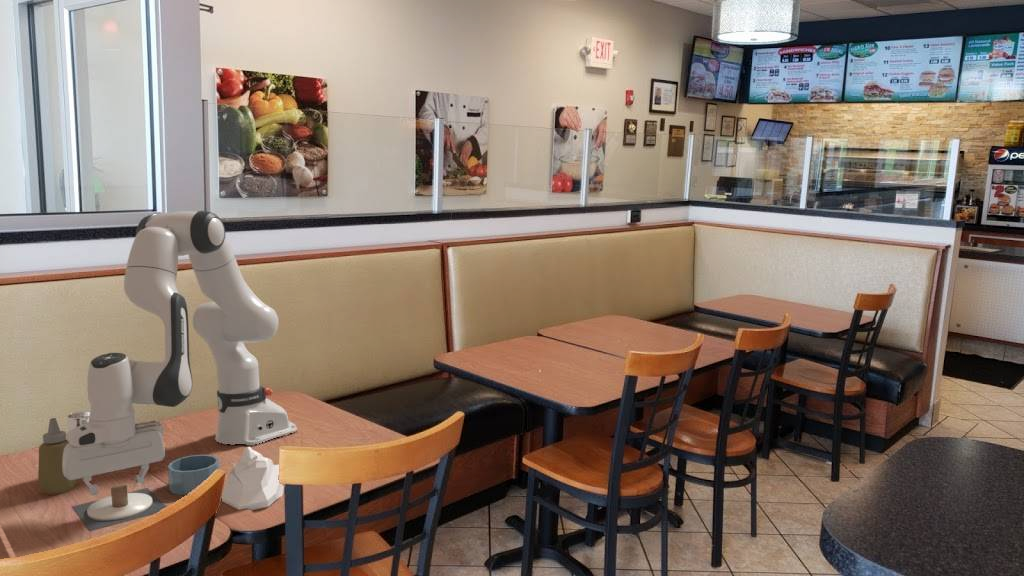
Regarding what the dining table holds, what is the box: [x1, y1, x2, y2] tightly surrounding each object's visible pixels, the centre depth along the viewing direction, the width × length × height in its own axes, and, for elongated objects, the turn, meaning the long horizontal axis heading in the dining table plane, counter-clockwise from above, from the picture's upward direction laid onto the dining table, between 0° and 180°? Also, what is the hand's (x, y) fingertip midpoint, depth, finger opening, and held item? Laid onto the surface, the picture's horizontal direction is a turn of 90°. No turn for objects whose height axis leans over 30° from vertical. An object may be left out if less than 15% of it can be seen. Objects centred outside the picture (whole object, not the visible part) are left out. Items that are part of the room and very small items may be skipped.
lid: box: [87, 484, 153, 521], centre depth 173 cm, size 13×13×5 cm
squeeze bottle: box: [37, 417, 77, 496], centre depth 183 cm, size 8×8×18 cm
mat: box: [71, 487, 168, 532], centre depth 174 cm, size 16×16×1 cm
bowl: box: [167, 454, 221, 496], centre depth 186 cm, size 11×11×6 cm
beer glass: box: [66, 410, 91, 433], centre depth 196 cm, size 7×7×15 cm
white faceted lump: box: [221, 446, 285, 511], centre depth 178 cm, size 12×15×14 cm
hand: (117, 488), depth 173 cm, fingers open, 8 cm apart
